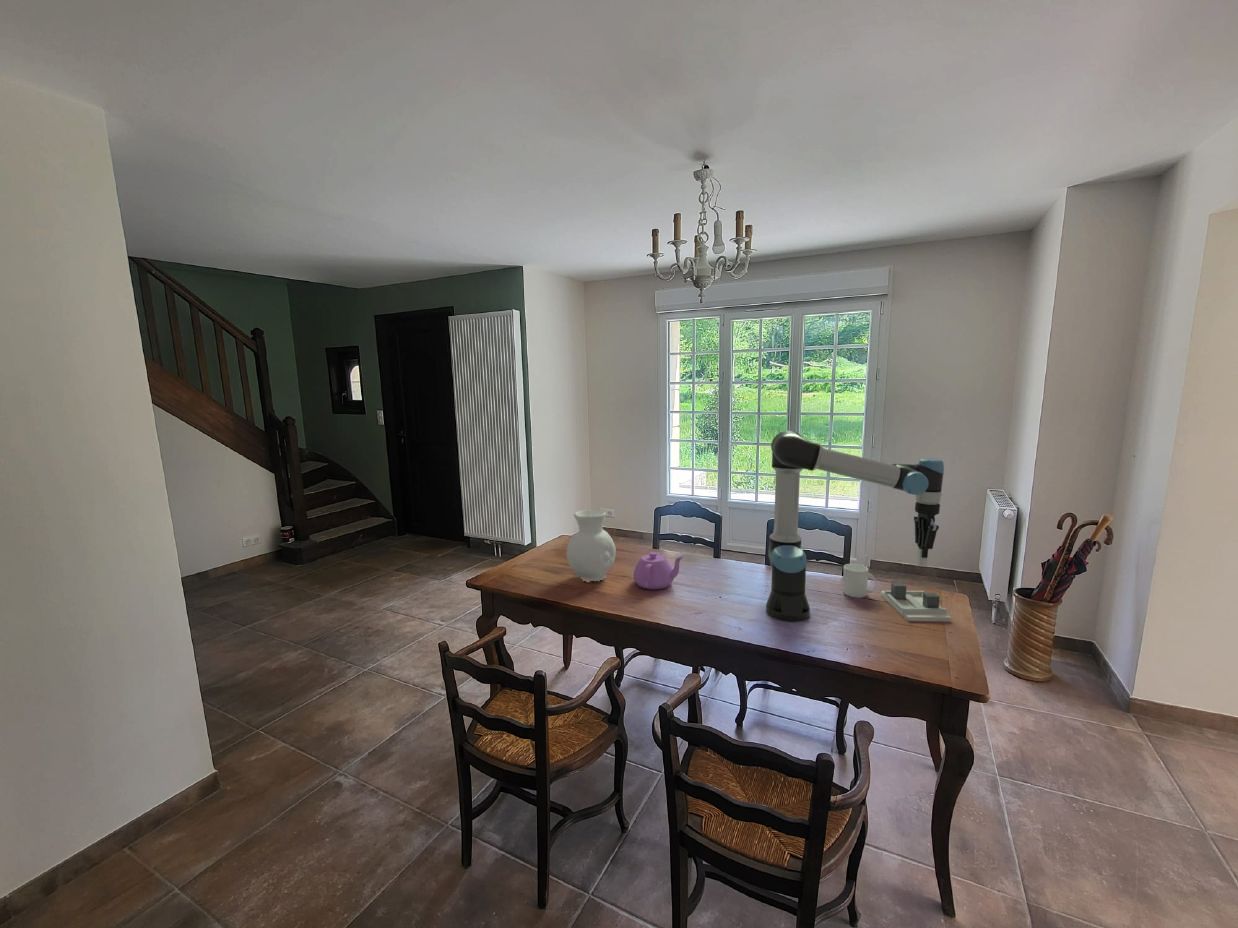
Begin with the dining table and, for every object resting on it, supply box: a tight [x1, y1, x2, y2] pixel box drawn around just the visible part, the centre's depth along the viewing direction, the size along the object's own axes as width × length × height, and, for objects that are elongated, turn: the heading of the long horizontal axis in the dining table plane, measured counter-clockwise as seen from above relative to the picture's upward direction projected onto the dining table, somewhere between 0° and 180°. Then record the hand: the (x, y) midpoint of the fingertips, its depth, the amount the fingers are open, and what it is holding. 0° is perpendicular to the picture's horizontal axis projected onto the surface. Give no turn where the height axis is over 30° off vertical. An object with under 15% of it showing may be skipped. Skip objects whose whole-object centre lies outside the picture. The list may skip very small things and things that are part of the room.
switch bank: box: [880, 589, 952, 623], centre depth 183 cm, size 14×22×3 cm, turn 175°
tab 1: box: [890, 582, 907, 599], centre depth 188 cm, size 4×3×5 cm
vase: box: [566, 509, 617, 582], centre depth 218 cm, size 19×21×30 cm
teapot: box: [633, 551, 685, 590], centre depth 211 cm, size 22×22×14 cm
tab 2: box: [923, 592, 940, 608], centre depth 178 cm, size 4×3×5 cm
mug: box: [842, 563, 878, 599], centre depth 195 cm, size 9×12×11 cm
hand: (921, 565), depth 183 cm, fingers closed
